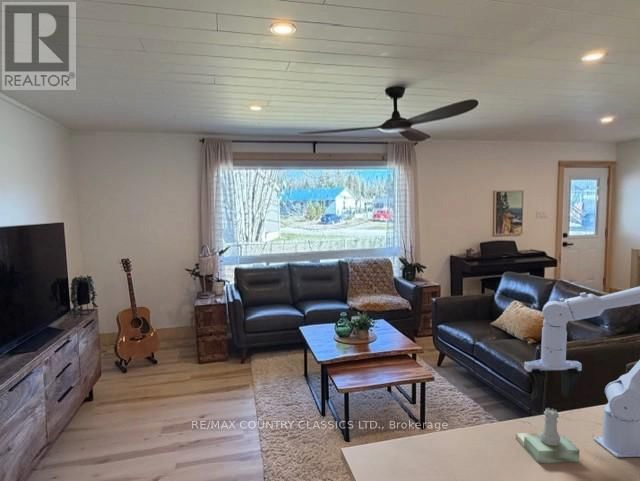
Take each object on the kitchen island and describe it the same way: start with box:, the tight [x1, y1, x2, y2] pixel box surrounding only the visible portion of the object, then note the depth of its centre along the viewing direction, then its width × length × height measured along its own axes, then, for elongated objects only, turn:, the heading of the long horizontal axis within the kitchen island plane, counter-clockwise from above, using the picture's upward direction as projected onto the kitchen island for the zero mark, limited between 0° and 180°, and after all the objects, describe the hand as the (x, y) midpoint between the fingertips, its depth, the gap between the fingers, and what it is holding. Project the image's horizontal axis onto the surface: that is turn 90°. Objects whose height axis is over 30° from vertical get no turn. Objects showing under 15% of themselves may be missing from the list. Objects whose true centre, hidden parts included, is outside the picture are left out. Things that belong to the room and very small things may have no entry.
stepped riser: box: [515, 432, 581, 464], centre depth 100 cm, size 10×10×3 cm
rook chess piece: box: [539, 407, 561, 446], centre depth 98 cm, size 4×4×8 cm
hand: (551, 396), depth 108 cm, fingers open, 7 cm apart
